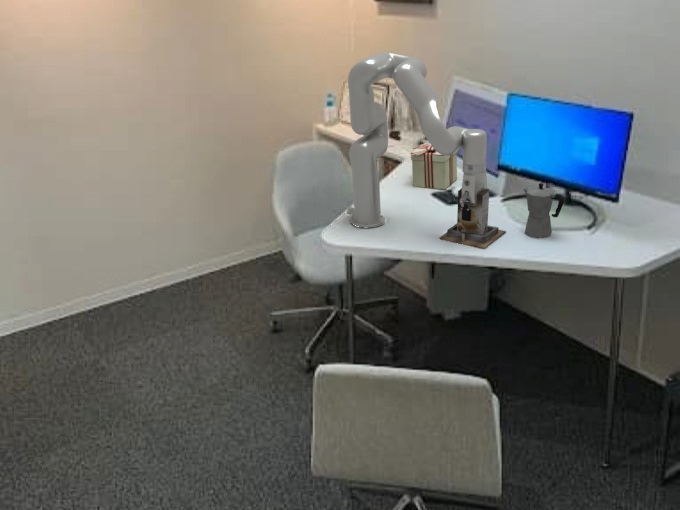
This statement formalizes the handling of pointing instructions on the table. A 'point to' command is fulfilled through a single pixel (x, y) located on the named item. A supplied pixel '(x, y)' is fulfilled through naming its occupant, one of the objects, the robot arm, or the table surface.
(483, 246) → the tray
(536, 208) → the coffeepot
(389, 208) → the table surface
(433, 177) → the gift box
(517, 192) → the table surface
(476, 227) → the coffee box
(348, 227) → the table surface
